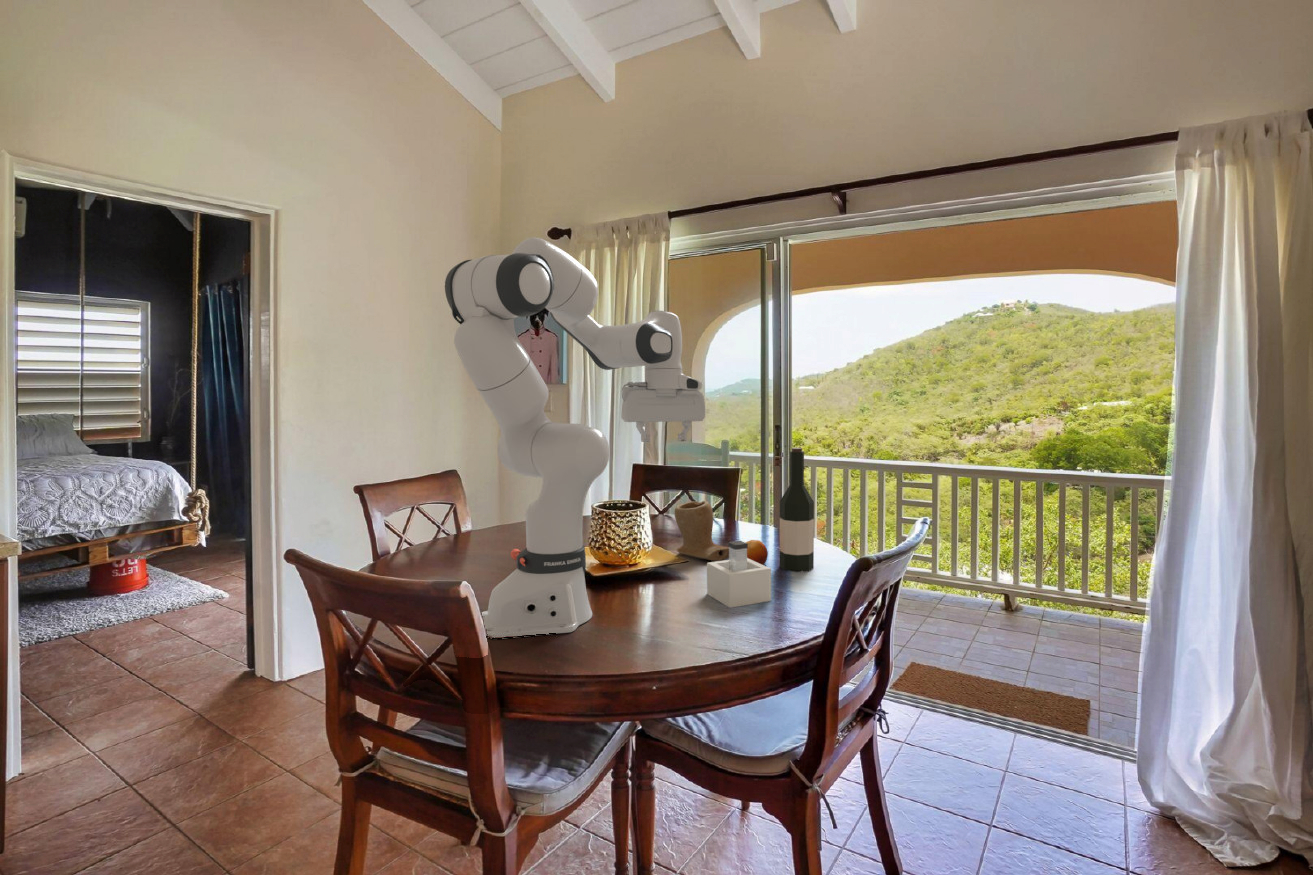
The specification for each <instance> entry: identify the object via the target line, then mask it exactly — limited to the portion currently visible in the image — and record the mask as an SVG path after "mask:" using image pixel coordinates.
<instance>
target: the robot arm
mask: <svg viewBox="0 0 1313 875" xmlns="http://www.w3.org/2000/svg"><path fill="white" fill-rule="evenodd" d="M444 293H445V296H446V301H447V303H448V304H447V305H449V307H450V309H451V314H452V318H453V319H454V320H455V321H456V322H457V323H459V324H460V325H459V326H458V328H457V329H456V331H455V333H454V335H453V336H454V337H453V338H454V340H453V341H454V342H453V343H454V345H455V346H454V347H455V350H456V351H457V354H458V357H459V360H460V361H461V364H462V365H463V368H464V370H465V371H466V374H467V375H468V377H469V378H470V380H471V382H472V383H473V385H474V387H475V388H476V390H477V391H478V393H479V395H480V396H481V397H482V399H483V401H484V402H485V403H486V405H487V407H488V408H489V411H490V412H491V413H492V414H493V417H494V419H495V420H496V422H497V424H498V428H499V431H500V436H499V438H498V442H497V456H498V459H499V461H500V463H501V465H502V466H504V468H506V469H508V470H509V471H512V472H514V473H517V474H519V475H520V476H521V475H522V476H526V477H530V478H531V477H533V478H541V479H542V485H541V491H540V493H539V496H537V499H536V500H534V501H532V502H531V503H530V504H529V505H528V507H527V509H526V511H525V537H526V538H525V539H526V546H525V548H524V549H523V550H520V549H518V548H513V549H512V550H511V551H510V557H511V558H512V559H513V560H514V561H515V562H516V569H515V570H514V571H513V572H511V573H510V574H509V575H508V576H506V578H504V579H503V580H502V581H501V582H500V583H498V584H497V585H495V587H494V588H493V589H492V591H491V593H490V596H489V599H488V605H487V606H488V607H487V610H485V611H481V613H482V616H483V619H484V625H485V629H487V634H488V636H489V635H490V636H492V637H494V638H495V637H506V636H522V635H535V636H537V635H536V634H546V635H550V634H549V633H556V634H567V633H572V632H574V631H576V629H578V627H579V626H580V625H583V624H585V623H586V622H588V621H590V619H592V617H593V611H592V608H591V604H590V601H589V598H588V596H589V595H588V593H587V588H586V587H587V586H586V585H587V584H586V578H585V573H586V567H587V559H586V558H587V557H586V548H585V546H584V544H583V517H584V516H583V515H584V507H585V506H584V505H585V501H586V498H587V495H588V492H589V489H590V488H591V486H592V484H593V483H594V482H595V480H596V479H597V478H599V477H600V476H601V475H602V474H603V472H604V471H605V470H606V468H607V466H608V464H609V461H610V454H611V453H610V445H609V442H608V439H607V437H606V435H605V434H604V433H603V432H602V431H601V430H599V429H596V428H594V427H591V426H589V425H584V424H581V423H570V422H569V423H568V422H563V423H562V422H553V421H552V420H550V419H549V417H548V416H547V414H546V413H545V410H544V408H546V405H547V403H548V400H549V396H550V394H549V388H548V386H547V384H546V382H545V381H544V379H543V378H542V376H541V374H540V372H539V370H538V368H537V367H536V365H535V364H534V362H533V360H532V359H531V357H530V355H529V354H528V352H527V350H526V349H525V347H524V346H523V344H522V343H521V341H520V340H519V338H518V336H517V333H516V330H515V329H516V328H515V321H514V318H519V317H521V318H527V317H531V316H533V315H535V314H538V313H540V312H541V311H543V310H544V309H546V310H547V311H549V314H550V316H551V317H552V319H553V321H554V322H555V323H556V324H557V325H558V326H559V327H560V328H561V329H562V330H563V331H564V332H566V334H568V335H569V337H571V338H572V339H573V340H574V341H575V342H577V344H578V345H580V346H581V347H582V348H583V349H584V350H585V351H586V353H587V354H588V355H589V357H590V358H591V360H592V361H593V362H594V364H595V365H596V366H597V367H599V368H600V369H601V370H604V371H609V370H615V369H620V368H635V367H637V368H638V367H644V381H639V382H637V381H636V382H634V381H628V382H627V383H625V384H624V385H623V386H622V387H621V399H622V403H621V404H622V405H621V412H620V413H621V414H620V415H621V419H622V420H623V422H624V423H635V424H636V425H635V426H636V429H637V431H638V432H639V434H640V441H641V443H649V442H650V437H651V436H650V434H649V433H647V432H646V431H645V429H644V427H646V423H653V422H654V423H658V422H659V423H662V422H663V423H664V422H665V423H667V422H668V423H669V422H670V423H671V422H673V423H674V422H677V423H679V422H681V427H683V428H682V431H681V433H677V440H678V441H679V442H686V441H687V440H688V439H687V436H688V435H687V434H688V433H689V431H690V429H691V427H692V422H703V421H704V419H705V418H706V402H705V401H706V400H705V397H704V396H705V395H704V394H703V392H701V390H702V388H703V384H702V381H701V380H699V379H696V378H693V377H691V376H688V375H686V374H684V373H683V364H682V360H681V359H682V358H681V357H682V353H683V334H682V326H681V321H680V318H679V316H678V315H677V314H675V313H673V312H671V311H667V310H666V311H665V310H654V311H650V312H649V313H647V316H646V317H645V318H644V319H642V320H640V321H637V322H633V323H628V324H620V325H619V324H617V325H603V324H599V323H598V322H597V321H596V320H595V319H594V318H593V317H592V316H591V313H592V312H593V310H594V308H595V306H596V304H597V301H598V299H599V298H598V296H599V286H598V282H597V279H596V277H594V275H593V273H592V272H590V270H588V268H587V267H585V266H584V265H583V264H582V263H581V262H579V261H578V260H577V259H576V258H574V257H573V256H572V255H570V254H569V253H568V252H566V251H565V250H564V249H562V248H560V247H558V246H557V245H555V244H553V243H552V242H550V241H548V240H545V239H543V238H541V237H535V236H534V237H528V238H525V239H524V240H522V241H521V242H519V244H517V245H516V247H515V248H514V249H513V250H512V253H511V254H499V255H498V254H497V255H496V254H489V255H484V256H479V257H477V258H473V259H466V260H463V261H461V262H459V263H458V264H456V265H455V266H453V267H452V268H451V269H450V270H449V272H447V274H446V277H445V280H444Z"/></svg>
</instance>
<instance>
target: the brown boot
mask: <svg viewBox="0 0 1313 875" xmlns="http://www.w3.org/2000/svg"><path fill="white" fill-rule="evenodd" d="M674 518H675V521H676V525H677V528H678V529H679V531H680V534H681V538H682V539H683V544H682V545H681V546H679V547H678V548H677V549H676V551H677V553H678V554H681V555H685V556H688V557H692V558H696V559H697V558H698V559H702V560H708V561H712V562H716V561H724V560H729V547H728V546H724V545H723V546H722V545H719V544H716V543H714V542H713V525H714V512H713V508H712V505H711V503H710V502H708V501H707V500H703V501H696V500H695V501H694V500H693V501H689V502H684V503H682V504H678V505H677V506H676V507H675V508H674Z"/></svg>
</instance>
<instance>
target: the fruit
mask: <svg viewBox="0 0 1313 875" xmlns="http://www.w3.org/2000/svg"><path fill="white" fill-rule="evenodd" d="M744 542H745V541H744ZM745 543H747V544H748V548H747V558H748V559H751V560H753V561H755V562H757V563H760V564H762V565H764V566H766V567H767V565H766V562H767V559H768V554H769V553H768V552H769V551H768V549H767V547H766V545H765V544H764V542H762V541H761V540H758V539H751V540H748V541H746V542H745Z"/></svg>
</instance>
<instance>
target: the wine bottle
mask: <svg viewBox="0 0 1313 875" xmlns="http://www.w3.org/2000/svg"><path fill="white" fill-rule="evenodd" d="M804 467H805V451H803V448H802V447H792V448H791V451H789V486H788V487H787V489H786V490H785V492H784V493H783V494H782V495H783V496H782V497H781V498H780V500H779V567H780V568H781V570H784V571H787V570H790V571H789V572H794V571H795V572H796V573H799V572H800V573H801V571H803V572H810V571H811V570H813V569H814V567H815V566H814V563H815V562H814V560H815V559H814V553H815V552H814V550H815V548H814V544H815V542H814V540H815V539H814V538H815V537H814V536H815V535H814V533H815V531H814V530H815V527H814V526H815V502H814V500H813V497H812V496H811V494H810V493H809V491H808V490H807V488H806V486H805V468H804ZM809 570H810V571H809ZM795 572H794V573H795Z"/></svg>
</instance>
